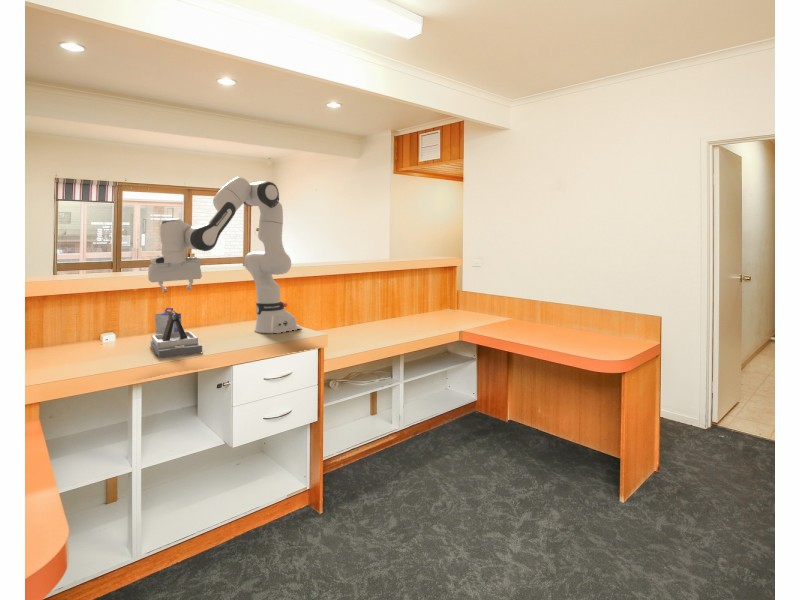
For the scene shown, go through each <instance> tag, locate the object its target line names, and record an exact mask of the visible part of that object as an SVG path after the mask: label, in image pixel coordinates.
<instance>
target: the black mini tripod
mask: <svg viewBox="0 0 800 600" xmlns="http://www.w3.org/2000/svg"><path fill="white" fill-rule="evenodd" d="M169 311H170V312H169V314H168V315H169V319H168V322H167V326H166V329H165V332H164V335H163V338H162V340H163V341H171V340H179V339H188V338H187V336H186V334H185V332H186V331H185V330H184V327H183V326H182V322H181V323H180V321H179V314H178V313H179V312H176V311H175V310H173V311H171V310H169ZM174 313H175V316H174V317H173V318H172V315H173V314H174ZM174 322H175V323H176V326H177V328H178V331H179V334H180V337H177V338H170V337H171V332H172V328H173V323H174Z"/></svg>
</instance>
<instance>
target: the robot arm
mask: <svg viewBox="0 0 800 600" xmlns="http://www.w3.org/2000/svg"><path fill="white" fill-rule="evenodd" d="M279 201H280V193H279V188H278V187H277V185H276V184H275V183H274V182H273V181H272V182H271V181H267V180H263V181H255V182H251V183H250V182H249V181H248V180H247V179H246V178H244V177H240V176H236V177H234V178H233V179H231V180H229V181H228V182H227V183H226V184H225V185H223V186H222V187H221V188H220V189H219V190H218V191H217V192H216V194H215V195H214V197H213V199H212V204H213V206H214V208H215V209H216V210H217V211H216V213H215V214H214V215H213V216H212V218H211V219H210V220H209V221H208V223H206V224H204V225H200V226H195V225H191V224H189V223H187V222H185V221H183V220H182V219H181V218H179V217H175V218H168V219H164V220H162V221H161V222H160V229H159V232H160V233H159V234H160V235H159V236H160V243H161V246H162V247H161V254H159V255H155V256H153V257H151V258H150V260H149V261H150V264H149V266H148V269H147V270H148V272H147V273H148V274H147V275H148V276H147V278H148V281H149V282H151V283H158V285H159V287H160V288H161V292H162V293H167V292H168V290H167V289H168V288H167V287H164V286H163V285H164V282H174V281H185V280H186V281H188V282H189V284H188V285H186V287H185V288H186V291H191V290H192V285H193V283H194V280H199V279H201V278H202V277H203V275H202V269H201V266H202V265H201V264H202V260H201V259H200V258H199V257H196V256H193V257H190V256H189V257H186V256H187V255H186V249H189V250H198V251H203V252H207V251H208V252H209V251H211V250H213V248H215V247H216V245H217V243H218V240H219V237H220V236H221V234H222V232H224V230H225V229H226V227H227V226H228V225H229V223H230V222H231V221H232V219H233V218H234V216H235V214H236V212H237V211H238V210H239V209H240V207H242V206H243V204H244V205H246V206H248V207H258V209H259V212H260V215H259V220H258V221H259V223H258V230H257V231H258V233H257V237H258V239H259V241H260V242H261V243H262V244H263V247H264V250H255V251H251V252H248V253H247V254H246V255H245V257H244V260H243V261H244V262H243V264H244V267H245V269H246V270H247V271H248V272H249V273H250V275H251V276H252V278H253V281H254V285H255V289H256V302H255V304H256V305H255V313H256V322H255V327H254V332H256V333H258V334H259V333H261V334H273V333H277V334H282V333H281V332H283V333H287V332H286V331H289V332H293V331H292V330H294V331H298V330H297V329H300V330H302V326H301V325H299V324H298V323H297V319H296V317H295V315H293V314H292V312H289V311H288V310H287V309H285V308H287V307H288V303H287V302H283V301H281V287H280V285H279V283H277V281H275V278H274V277H273V275H276V276H278V275H285V274H287V273H289V272H290V270H291V267H292V259H291V257H290V255H289V254H288V253H287V252H286V251H285V248H284V245H283V224H284V212H283V205H282V203H281V202H279Z"/></svg>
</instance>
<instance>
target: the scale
mask: <svg viewBox="0 0 800 600" xmlns="http://www.w3.org/2000/svg"><path fill="white" fill-rule="evenodd" d="M185 334H186V336H187V338H188V339H179V340H171V341H163V340H162V338H163V335H164V334H158V335H156V334H152V335H151V340H150V349H152V351H153V352H154V354H155V355H156V356H157V357H158V359H166V358H173V357H180V356H188V355H195V353H196V354H202V353H203V345H202V344H201V343H200V342H199V339H198V337H197V336H196V335H195V334H194V333H193V332H192V331H190V330H187V331H185ZM177 337H180V334H179V332H177V333H171V337H170V338H177ZM201 352H202V353H201Z"/></svg>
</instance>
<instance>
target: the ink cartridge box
mask: <svg viewBox="0 0 800 600" xmlns="http://www.w3.org/2000/svg"><path fill="white" fill-rule="evenodd" d="M170 311H172V312H173V311H174V308H172V307H166V308H165V310H164V312H159V313H155V314H154V323H155V324H154V325H155V335H158V334H164V332H165V329H166V326H167V322H168V319H169V315H168V314H169V312H170ZM173 313H174V312H173ZM177 313H178V314H179V321H180V323H181V324H182V313H179V312H177ZM174 316H175V313H174V314H173V315H172V318H173V317H174ZM177 332H179V331H178V328H177V326H176V323H175V322H174V323H173V328H172V332H171V333H177Z"/></svg>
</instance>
